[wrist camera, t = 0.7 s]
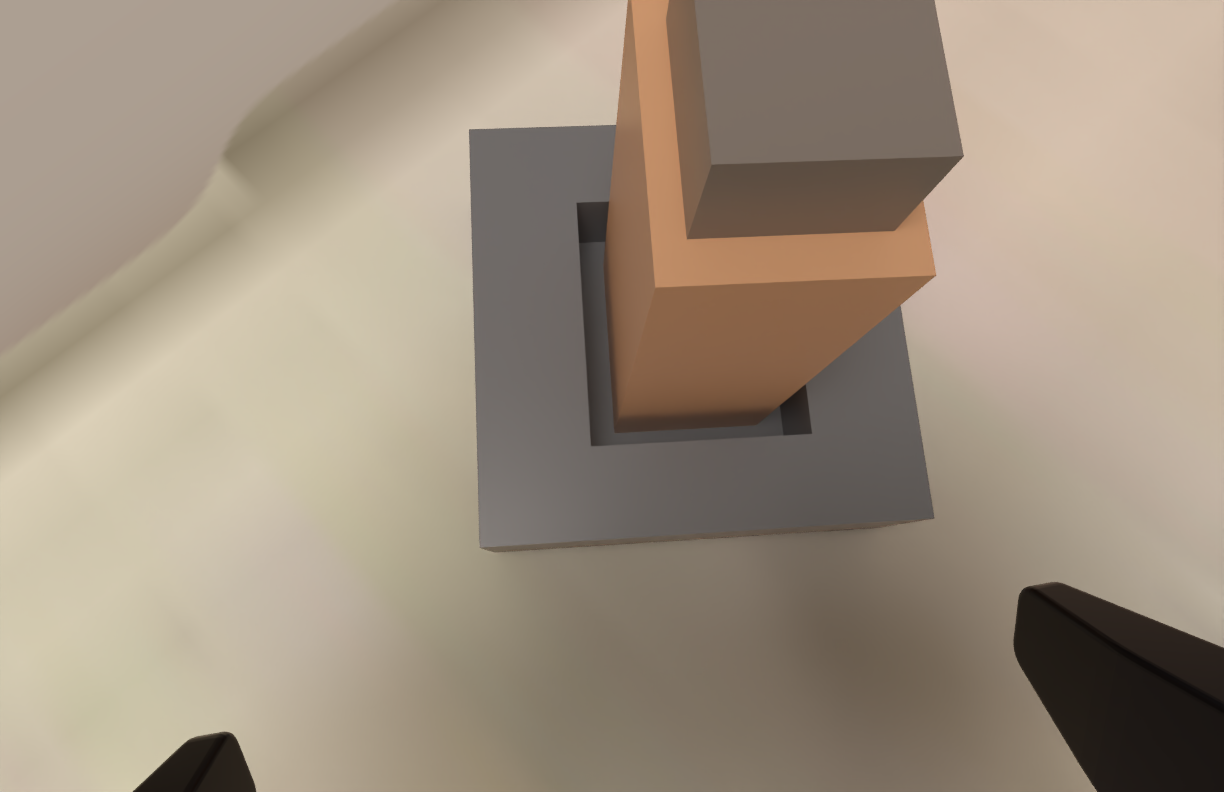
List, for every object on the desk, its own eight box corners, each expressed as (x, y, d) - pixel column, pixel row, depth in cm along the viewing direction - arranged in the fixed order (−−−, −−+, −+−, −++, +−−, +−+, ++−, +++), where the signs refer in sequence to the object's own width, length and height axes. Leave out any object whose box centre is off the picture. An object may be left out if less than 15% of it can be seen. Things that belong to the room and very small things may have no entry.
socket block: (878, 527, 22) (934, 518, 19) (494, 552, 21) (479, 547, 18) (828, 181, 24) (870, 117, 21) (484, 193, 24) (468, 129, 20)
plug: (755, 425, 21) (1015, 208, 9) (614, 433, 21) (673, 222, 9) (737, 260, 23) (945, -141, 10) (603, 265, 22) (640, -138, 10)
